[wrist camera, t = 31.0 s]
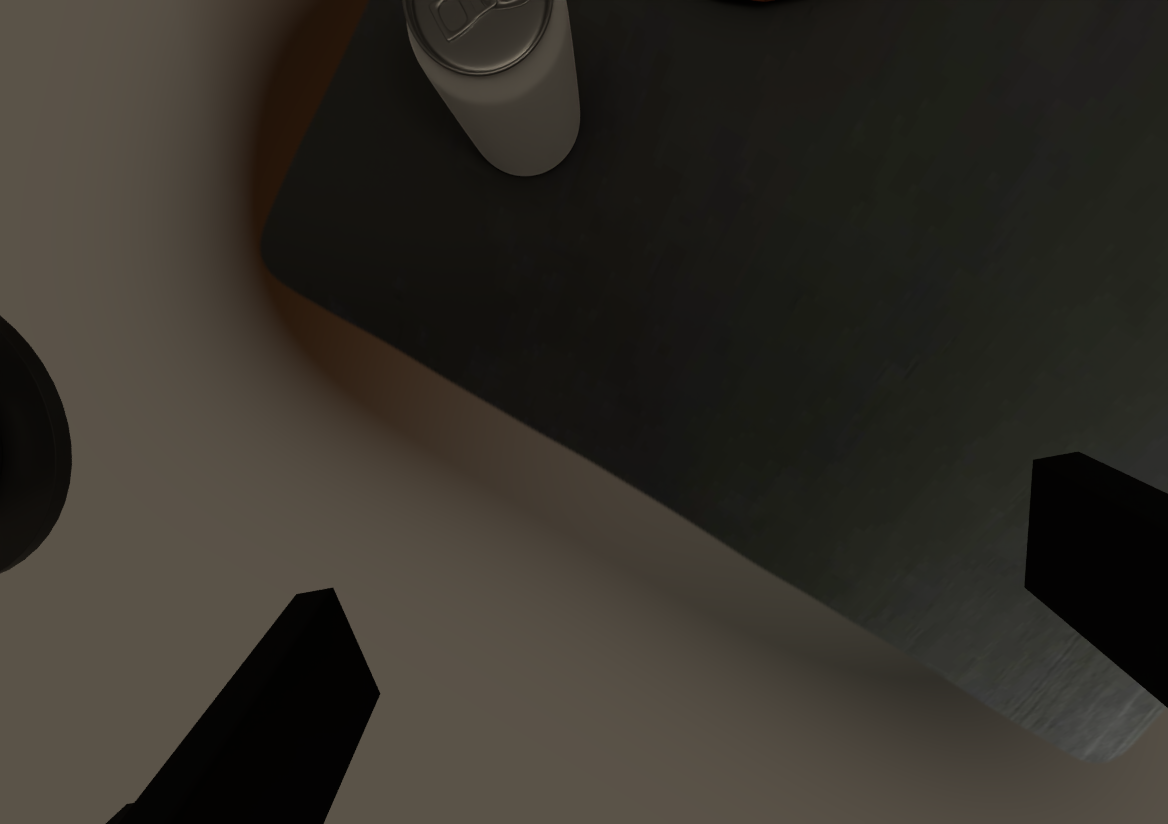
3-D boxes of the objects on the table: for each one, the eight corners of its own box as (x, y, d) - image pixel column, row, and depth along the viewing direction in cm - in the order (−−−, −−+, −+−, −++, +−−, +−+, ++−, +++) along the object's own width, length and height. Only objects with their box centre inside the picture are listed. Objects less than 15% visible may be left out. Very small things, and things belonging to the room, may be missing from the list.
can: (600, 143, 32) (596, 28, 20) (505, 199, 32) (445, 121, 20) (547, 38, 31) (510, -146, 19) (450, 98, 32) (356, -44, 20)
